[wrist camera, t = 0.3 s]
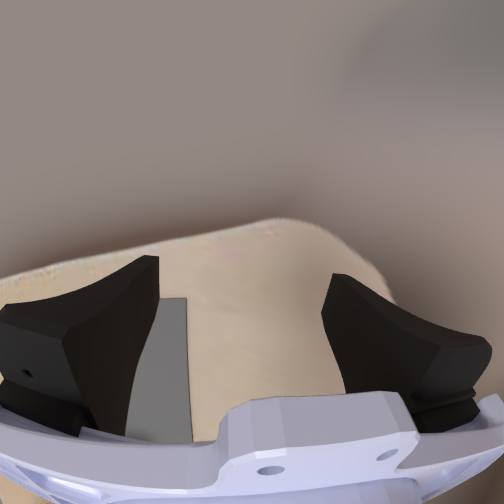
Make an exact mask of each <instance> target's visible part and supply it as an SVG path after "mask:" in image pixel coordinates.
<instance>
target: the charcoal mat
mask: <svg viewBox="0 0 504 504" xmlns="http://www.w3.org/2000/svg"><path fill="white" fill-rule="evenodd" d="M125 437H128V438H133V439H138V440H143V441H149V442H155V443H181V442H193V437H192V426H191V413H190V398H189V380H188V358H187V323H186V298H182V299H160V300H159V304H158V309H157V313H156V317H155V320H154V323H153V325H152V328H151V330H150V333H149V336H148V338H147V341H146V343H145V346H144V349H143V351H142V354H141V356H140V359H139V362H138V366H137V369H136V374H135V378H134V383H133V387H132V393H131V398H130V403H129V409H128V416H127V423H126V431H125Z"/></svg>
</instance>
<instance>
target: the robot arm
mask: <svg viewBox="0 0 504 504" xmlns="http://www.w3.org/2000/svg"><path fill="white" fill-rule="evenodd" d="M159 300H160V293H159V256H149V255H144V256H141V257H140V258H138V259H136V260H134V261H133V262H131V263H129V264H128V265H126V266H124V267H123V268H121V269H119V270H118V271H116V272H114V273H112V274H110V275H109V276H107V277H105V278H103V279H101V280H99V281H97V282H95V283H93V284H91V285H88V286H86V287H83V288H81V289H78V290H76V291H72V292H69V293H66V294H63V295H60V296H56V297H52V298H48V299H43V300H38V301H32V302H23V303H13V304H6V305H5V306H4V307H3V308H2V309H1V310H0V372H1V374H2V376H3V378H4V380H3V381H2V383H1V385H0V474H1V475H3V476H4V477H6V478H8V479H9V480H11V481H13V482H14V483H16V484H18V485H20V486H22V487H23V488H25V489H27V490H29V491H31V492H33V493H35V494H37V495H39V496H40V497H42V498H45V499H47V500H49V501H51V502H53V503H55V504H423V502H425V501H427V500H430V499H432V498H434V497H436V496H438V495H439V494H442V493H444V492H445V491H447V490H449V489H451V488H453V487H455V486H456V485H458V484H460V483H462V482H464V481H466V480H467V479H469V478H470V477H472V476H474V475H476V474H478V473H479V472H481V471H483V470H484V469H486V468H487V467H488V466H489V465H490V464H492V463H493V462H494V461H495V460H496V459H497V458H498V457H500V456H501V455H502V454H503V453H504V403H503V402H502V401H501V399H500V398H499V396H498V395H497V394H493V395H490V396H488V397H485V398H482V399H481V400H479V401H478V402H477V403H475V401H474V400H473V397H474V396H475V395H476V392H475V390H474V389H473V386H474V385H475V383H476V382H477V380H478V379H479V378H480V376H481V375H482V373H483V372H484V371H485V369H486V367H487V366H488V364H489V362H490V359H491V355H492V347H491V345H490V344H489V343H488V342H487V341H486V340H485V338H483V337H481V336H477V335H472V334H467V333H461V332H458V331H454V330H451V329H447V328H444V327H442V326H439V325H436V324H433V323H431V322H428V321H426V320H423V319H421V318H419V317H417V316H415V315H413V314H411V313H409V312H407V311H405V310H403V309H401V308H399V307H398V306H396V305H394V304H393V303H391V302H389V301H388V300H386V299H385V298H383V297H382V296H380V295H378V294H377V293H375V292H374V291H372V290H371V289H369V288H368V287H366V286H365V285H363V284H362V283H360V282H359V281H357V280H356V279H354V278H352V277H350V276H348V275H346V274H336V273H333V275H332V278H331V282H330V285H329V288H328V292H327V295H326V298H325V302H324V305H323V308H322V311H321V315H322V320H323V324H324V329H325V332H326V335H327V338H328V340H329V343H330V346H331V348H332V351H333V353H334V356H335V359H336V361H337V364H338V366H339V369H340V372H341V375H342V378H343V382H344V386H345V390H346V394H337V395H319V396H276V397H268V398H261V399H252V400H250V401H248V402H246V403H243V404H241V405H239V406H237V407H235V408H232V409H231V410H229V411H228V412H227V413H226V415H225V416H224V418H223V419H222V421H221V422H220V424H219V432H218V438H217V440H214V441H201V442H181V443H155V442H149V441H143V440H138V439H133V438H128V437H125V431H126V423H127V416H128V409H129V403H130V398H131V393H132V387H133V383H134V378H135V374H136V369H137V366H138V362H139V359H140V356H141V354H142V351H143V349H144V346H145V343H146V341H147V338H148V336H149V333H150V330H151V328H152V325H153V323H154V320H155V317H156V313H157V309H158V304H159Z"/></svg>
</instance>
